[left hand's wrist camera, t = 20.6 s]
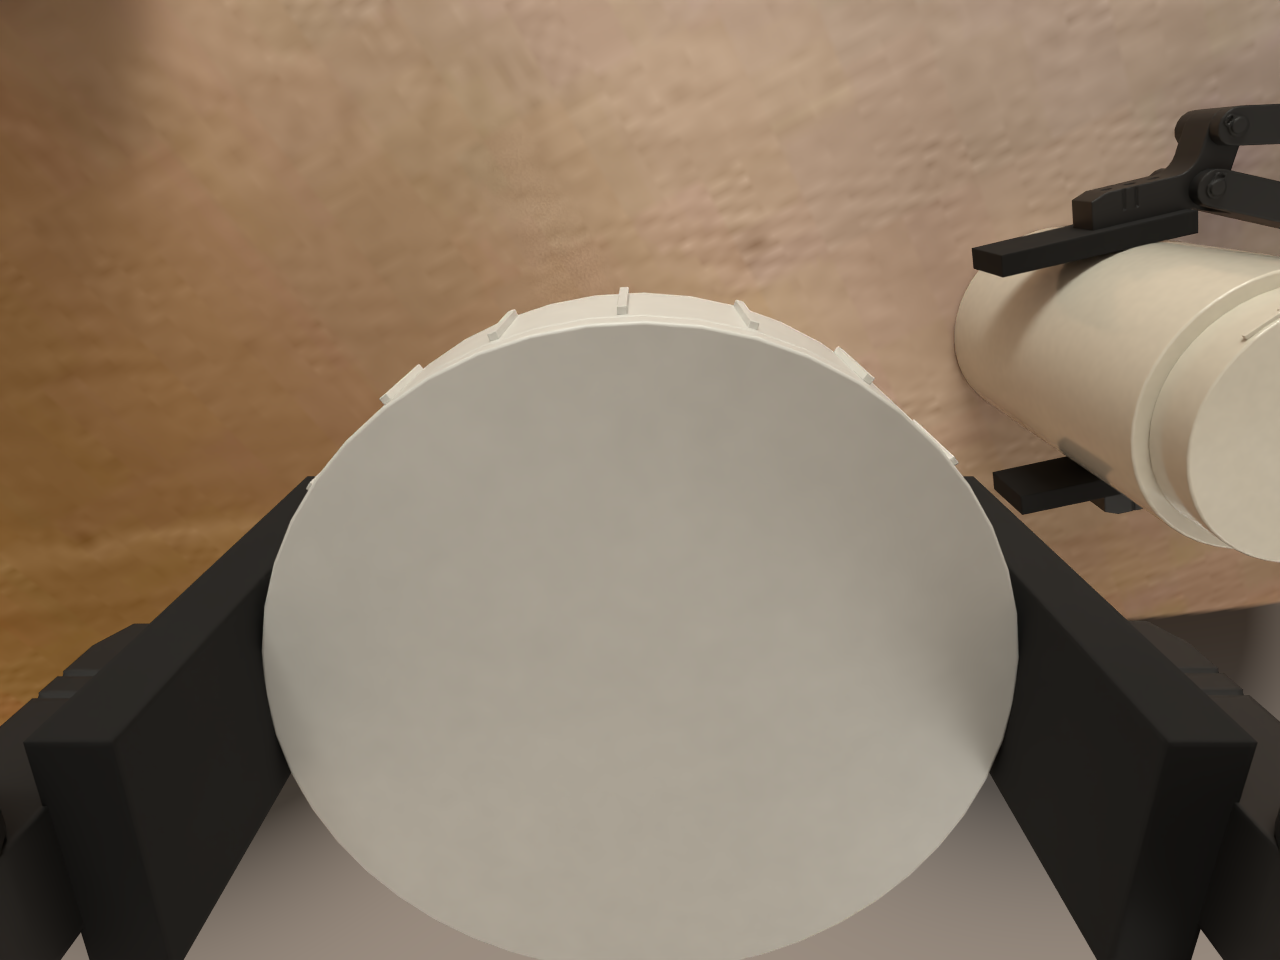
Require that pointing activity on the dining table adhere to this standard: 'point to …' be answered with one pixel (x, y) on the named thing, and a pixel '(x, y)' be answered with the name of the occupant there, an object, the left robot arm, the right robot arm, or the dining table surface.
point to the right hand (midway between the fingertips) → (997, 383)
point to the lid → (640, 635)
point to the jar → (1146, 378)
